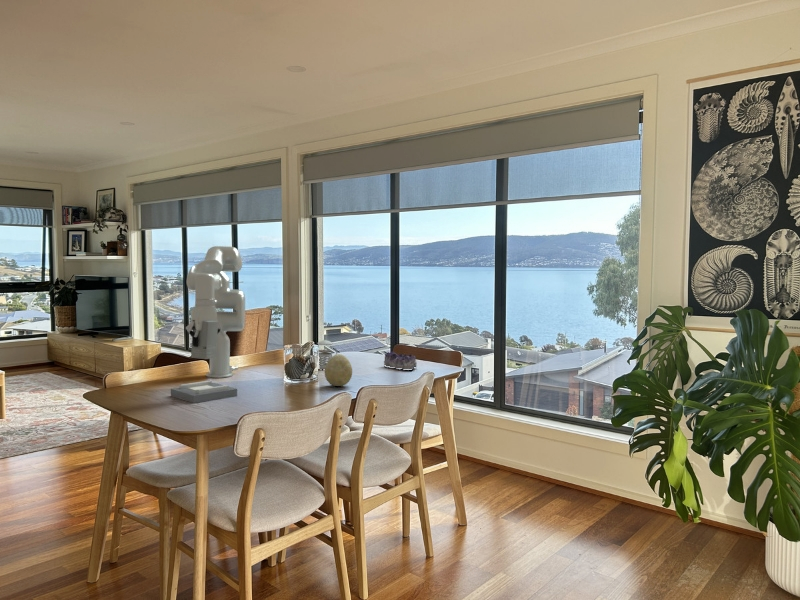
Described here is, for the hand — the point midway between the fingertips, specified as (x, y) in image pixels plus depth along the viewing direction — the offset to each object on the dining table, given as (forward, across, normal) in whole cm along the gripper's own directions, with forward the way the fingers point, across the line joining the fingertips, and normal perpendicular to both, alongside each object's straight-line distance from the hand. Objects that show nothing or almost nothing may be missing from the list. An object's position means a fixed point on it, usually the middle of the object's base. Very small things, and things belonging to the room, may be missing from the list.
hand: (204, 345), depth 257 cm
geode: (+21, -114, +9) cm, 116 cm away
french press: (+21, -83, -16) cm, 87 cm away
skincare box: (+5, 0, 0) cm, 5 cm away
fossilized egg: (+21, -55, +23) cm, 63 cm away
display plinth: (+21, 0, 0) cm, 21 cm away
